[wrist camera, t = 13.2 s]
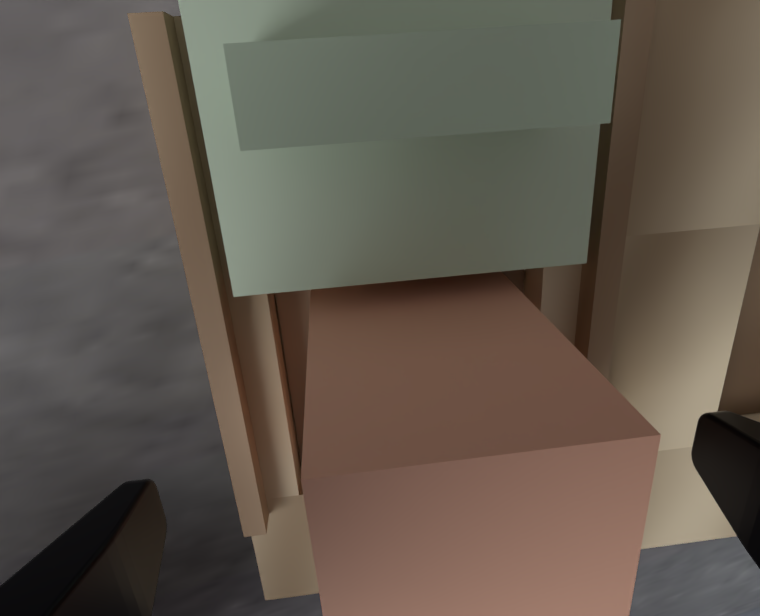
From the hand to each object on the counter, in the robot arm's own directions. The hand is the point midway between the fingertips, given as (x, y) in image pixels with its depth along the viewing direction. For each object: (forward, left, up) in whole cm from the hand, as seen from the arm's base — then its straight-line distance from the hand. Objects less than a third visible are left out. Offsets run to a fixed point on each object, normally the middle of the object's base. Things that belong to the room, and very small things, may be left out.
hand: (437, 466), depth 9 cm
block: (0, 0, -4) cm, 4 cm away
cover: (0, -6, -3) cm, 6 cm away
